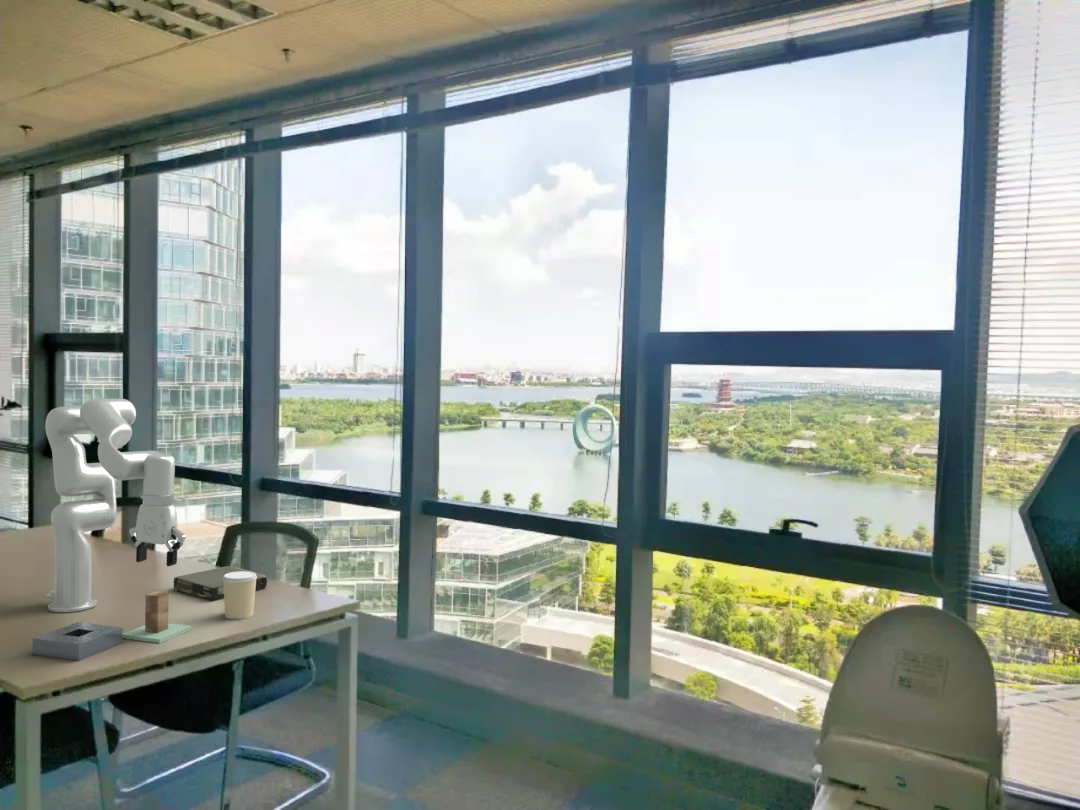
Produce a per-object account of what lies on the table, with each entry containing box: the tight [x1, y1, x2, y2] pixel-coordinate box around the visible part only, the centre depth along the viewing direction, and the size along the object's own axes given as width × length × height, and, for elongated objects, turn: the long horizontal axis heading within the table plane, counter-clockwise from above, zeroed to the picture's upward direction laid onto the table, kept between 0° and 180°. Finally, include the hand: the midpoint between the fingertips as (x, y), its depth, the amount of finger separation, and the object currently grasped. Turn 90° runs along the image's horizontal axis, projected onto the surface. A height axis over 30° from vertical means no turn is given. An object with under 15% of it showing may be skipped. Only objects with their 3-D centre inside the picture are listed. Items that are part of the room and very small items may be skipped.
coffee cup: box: [223, 570, 257, 620], centre depth 235 cm, size 9×9×12 cm
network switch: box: [173, 565, 268, 602], centre depth 263 cm, size 23×24×5 cm
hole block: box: [32, 621, 123, 662], centre depth 204 cm, size 14×14×4 cm
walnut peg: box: [144, 590, 170, 633], centre depth 217 cm, size 4×4×10 cm
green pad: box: [122, 622, 192, 644], centre depth 217 cm, size 12×12×1 cm
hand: (156, 563), depth 217 cm, fingers open, 9 cm apart
